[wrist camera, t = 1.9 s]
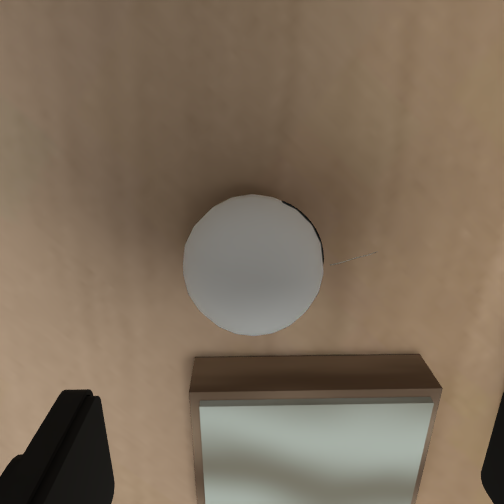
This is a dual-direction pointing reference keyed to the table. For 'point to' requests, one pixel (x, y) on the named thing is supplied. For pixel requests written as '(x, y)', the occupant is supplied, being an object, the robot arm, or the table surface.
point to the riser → (311, 428)
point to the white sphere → (253, 264)
